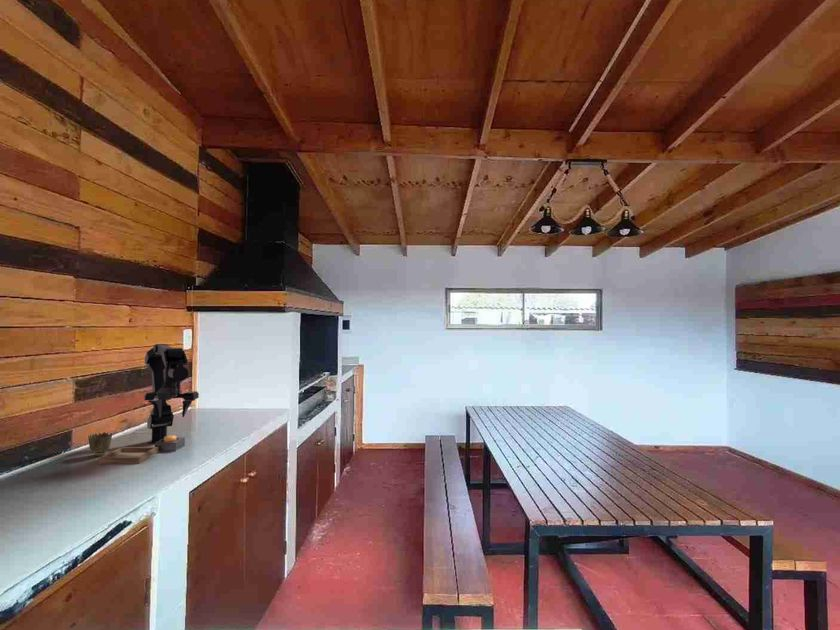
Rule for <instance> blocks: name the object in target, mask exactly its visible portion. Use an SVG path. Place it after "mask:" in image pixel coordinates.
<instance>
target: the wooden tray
mask: <svg viewBox="0 0 840 630" xmlns="http://www.w3.org/2000/svg"><path fill="white" fill-rule="evenodd" d="M159 453H160V452H159V447H155V446H140V447H135V446H134V447H133V446H132V447H130V446H129V447H119V448H117V449H115V450H112V451H111V452H109V453H105V455H103V456H99V457H98V458H97V464H98V465H121V464H123V465H125V464H126V465H129V464H140V463H142V462H144V461H145V460H147V459H149V458H151V457H153V456H154V455H156V454H159Z"/></svg>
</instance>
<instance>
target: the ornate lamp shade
mask: <svg viewBox="0 0 840 630" xmlns="http://www.w3.org/2000/svg"><path fill="white" fill-rule="evenodd" d="M87 437H88V445H89V449H90V451H91V452H93V456H94V457H102V456H104V455H106V454H107V450H108V449H110V446H111V444H112V437H113V433H112V432H110V434H109V432H103V433H101V432H99V433H95V434H89V435H88V436H87Z"/></svg>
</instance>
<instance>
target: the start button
mask: <svg viewBox="0 0 840 630" xmlns="http://www.w3.org/2000/svg"><path fill="white" fill-rule="evenodd" d="M176 438H177V435H174V434H171V435H170V434H169V435H167V436H165V437H164V442H174V441H176Z"/></svg>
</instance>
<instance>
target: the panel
mask: <svg viewBox="0 0 840 630" xmlns="http://www.w3.org/2000/svg"><path fill="white" fill-rule="evenodd" d="M185 443H186V437H185V436H184V437H182V436H181V437H177V438H176V441H174V442H164V438H163V439H161V440H159V441H157V442H155V443H154V447H159V451H162V452H177V451H178V449H179V450H180V449H181V447H182V448H183V446H184V447H185V446H186V444H185ZM176 450H177V451H176Z"/></svg>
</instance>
